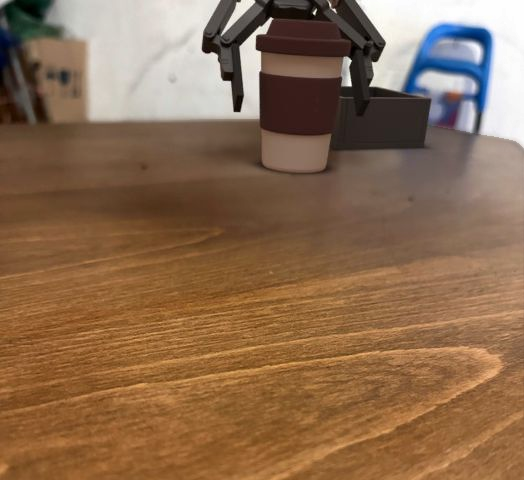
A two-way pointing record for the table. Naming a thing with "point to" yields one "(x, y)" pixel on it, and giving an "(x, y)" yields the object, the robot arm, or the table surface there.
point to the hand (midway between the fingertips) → (302, 106)
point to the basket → (381, 121)
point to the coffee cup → (299, 92)
